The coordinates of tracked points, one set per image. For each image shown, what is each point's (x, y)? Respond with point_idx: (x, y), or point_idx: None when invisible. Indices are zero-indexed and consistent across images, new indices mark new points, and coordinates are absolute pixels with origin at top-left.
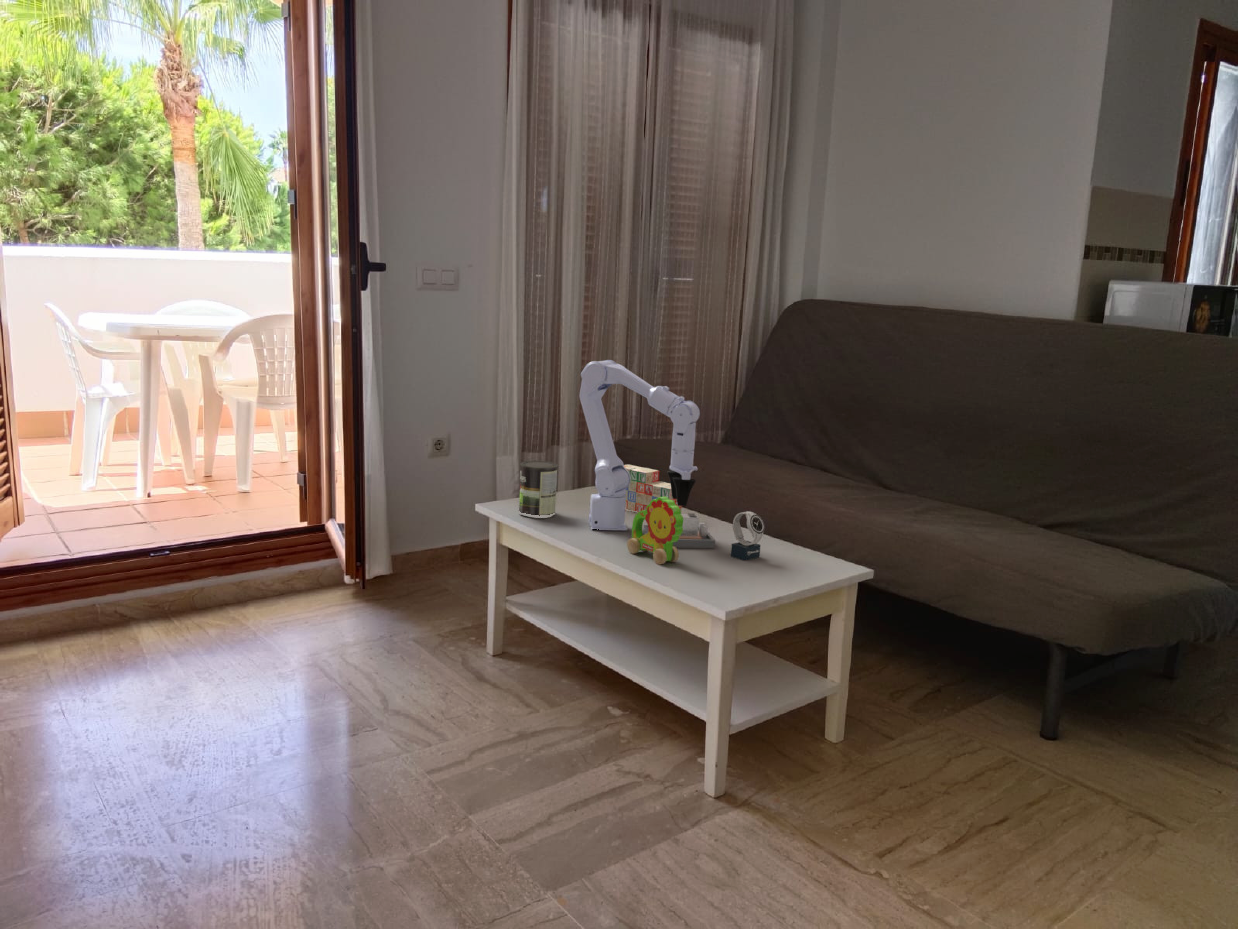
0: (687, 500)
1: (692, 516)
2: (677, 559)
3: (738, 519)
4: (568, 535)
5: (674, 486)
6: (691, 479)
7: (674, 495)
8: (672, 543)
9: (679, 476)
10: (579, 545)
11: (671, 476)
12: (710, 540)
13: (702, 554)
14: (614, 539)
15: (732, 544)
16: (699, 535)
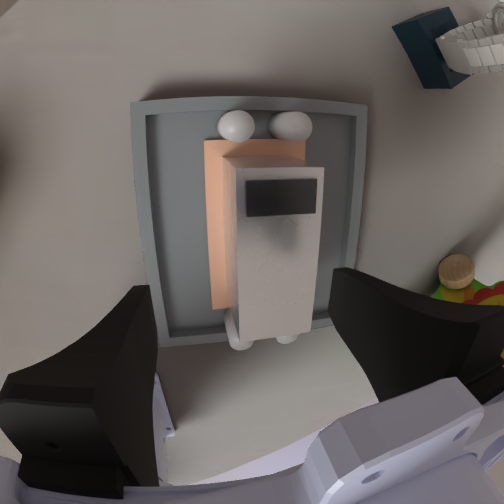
0: (370, 276)
1: (316, 202)
2: (459, 254)
3: (482, 47)
4: (228, 454)
5: (147, 386)
6: (481, 350)
7: (156, 337)
8: (486, 286)
9: (132, 434)
10: (306, 431)
11: (155, 472)
12: (366, 124)
13: (409, 169)
14: (254, 392)
15: (451, 87)
16: (265, 141)
